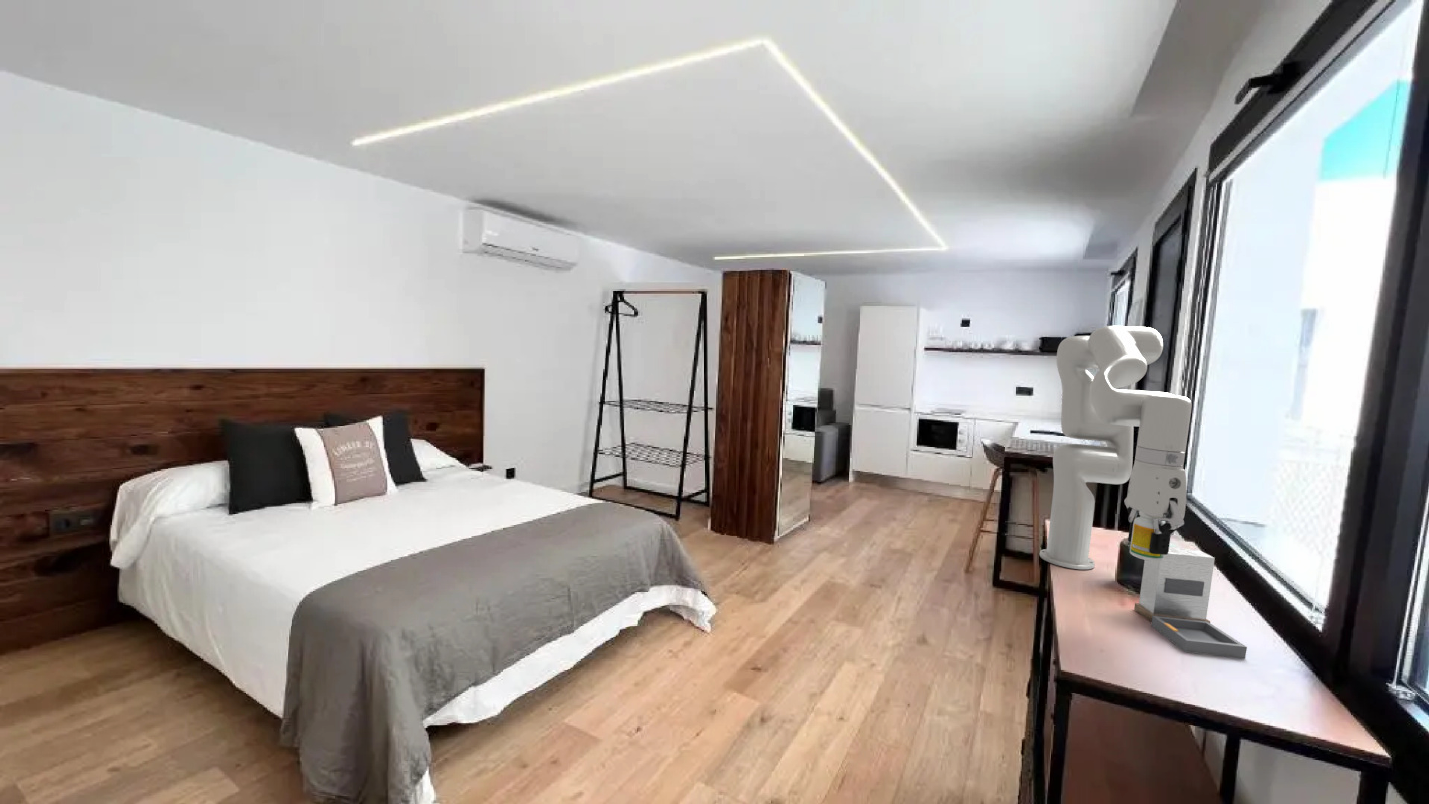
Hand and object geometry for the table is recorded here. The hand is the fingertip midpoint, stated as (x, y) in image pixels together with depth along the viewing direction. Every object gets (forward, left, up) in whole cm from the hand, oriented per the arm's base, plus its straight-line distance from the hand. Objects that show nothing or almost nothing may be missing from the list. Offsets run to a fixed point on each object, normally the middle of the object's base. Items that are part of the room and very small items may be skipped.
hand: (1147, 547), depth 114 cm
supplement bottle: (0, 0, -2) cm, 2 cm away
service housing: (-8, +11, -17) cm, 22 cm away
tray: (+2, +9, -17) cm, 20 cm away
